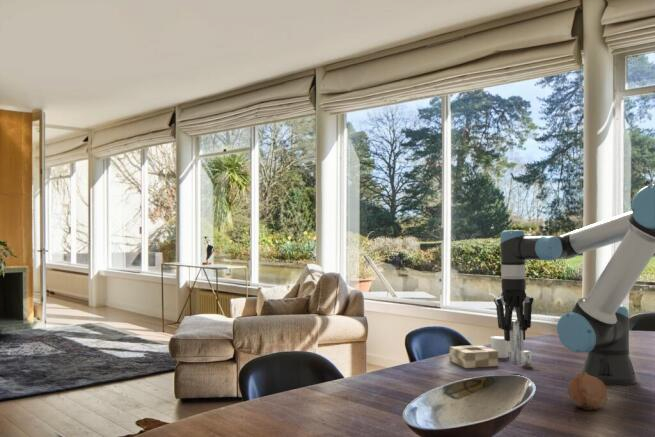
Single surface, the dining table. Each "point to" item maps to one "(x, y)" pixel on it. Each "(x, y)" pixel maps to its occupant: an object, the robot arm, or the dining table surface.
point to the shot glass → (499, 346)
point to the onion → (587, 391)
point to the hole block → (473, 356)
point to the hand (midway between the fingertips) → (515, 350)
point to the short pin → (526, 358)
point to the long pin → (515, 343)
